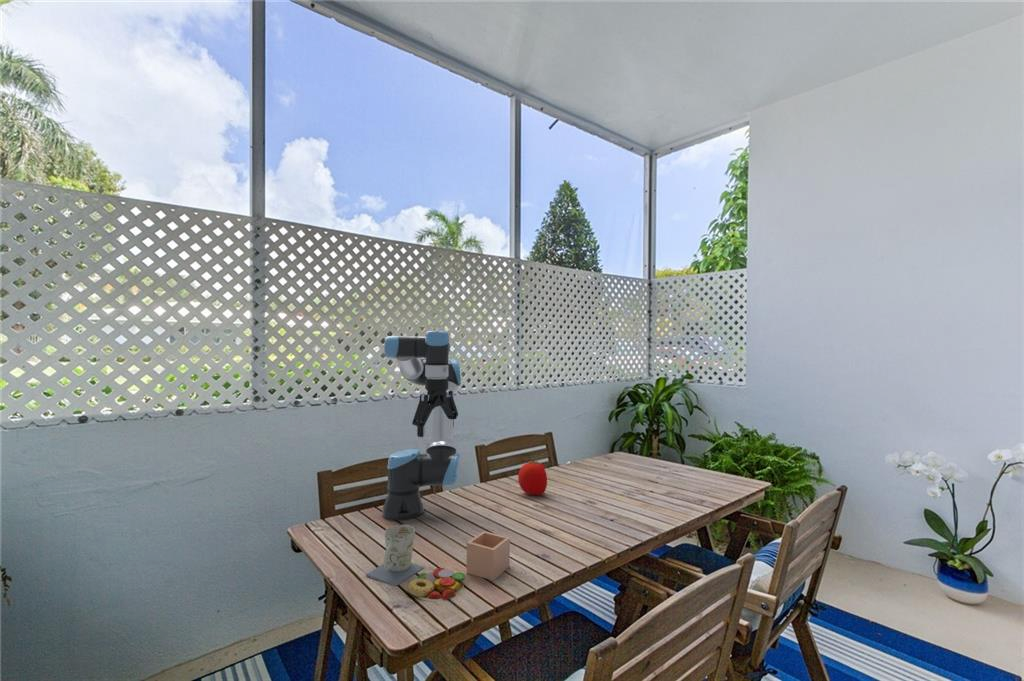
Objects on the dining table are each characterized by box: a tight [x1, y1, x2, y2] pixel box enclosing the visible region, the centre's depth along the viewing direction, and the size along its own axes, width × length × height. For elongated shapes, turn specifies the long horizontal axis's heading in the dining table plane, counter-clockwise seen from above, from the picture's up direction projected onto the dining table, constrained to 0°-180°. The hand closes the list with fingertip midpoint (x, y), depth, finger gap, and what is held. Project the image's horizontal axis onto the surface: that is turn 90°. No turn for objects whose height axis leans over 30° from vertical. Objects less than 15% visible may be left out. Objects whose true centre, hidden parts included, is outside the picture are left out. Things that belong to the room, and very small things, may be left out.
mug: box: [383, 524, 416, 572], centre depth 122 cm, size 8×13×10 cm, turn 169°
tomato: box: [517, 460, 548, 496], centre depth 186 cm, size 13×11×14 cm
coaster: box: [365, 561, 425, 587], centre depth 122 cm, size 11×11×1 cm
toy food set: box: [407, 567, 467, 603], centre depth 114 cm, size 13×13×3 cm
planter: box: [466, 530, 511, 581], centre depth 122 cm, size 9×9×9 cm
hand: (436, 442), depth 145 cm, fingers open, 13 cm apart
